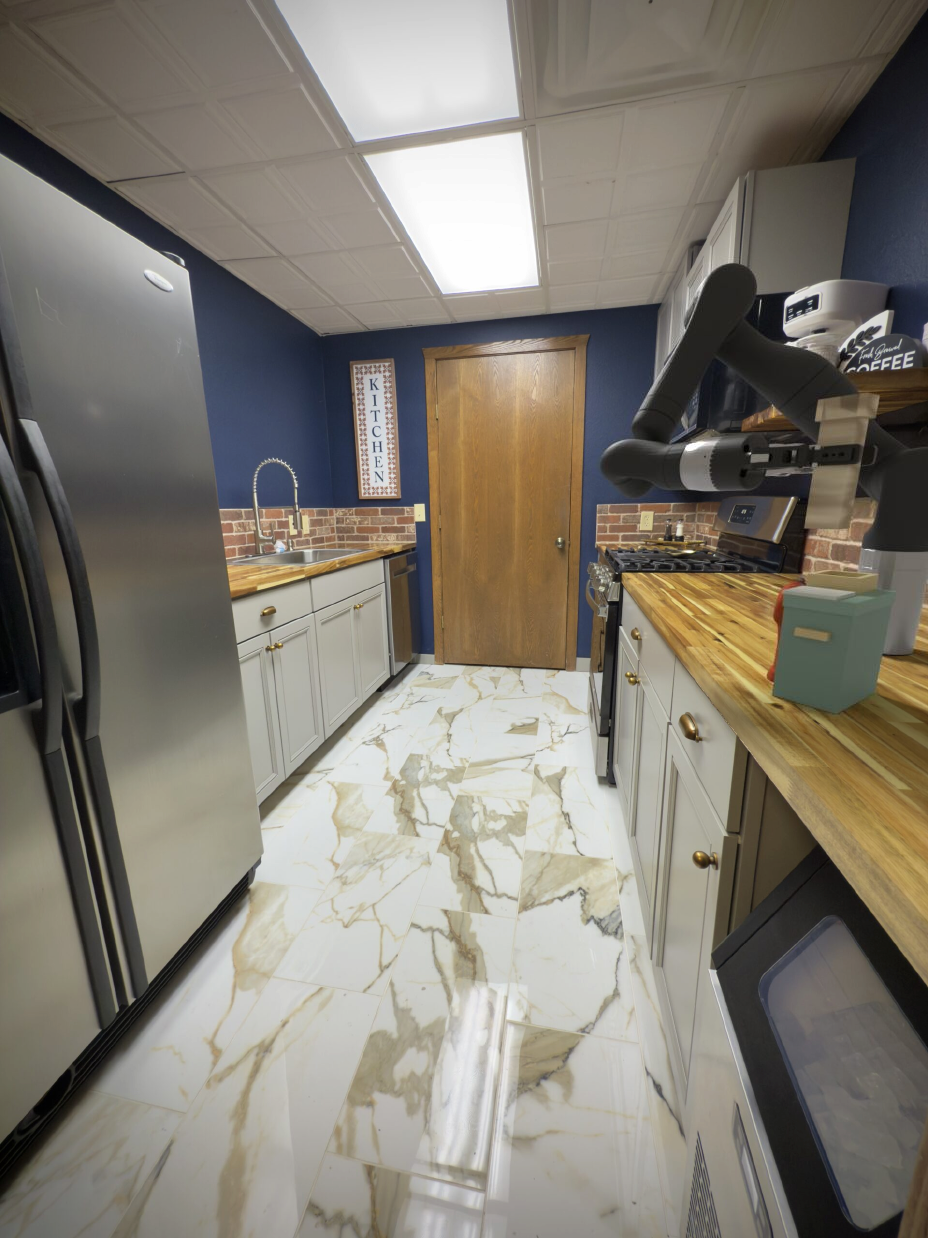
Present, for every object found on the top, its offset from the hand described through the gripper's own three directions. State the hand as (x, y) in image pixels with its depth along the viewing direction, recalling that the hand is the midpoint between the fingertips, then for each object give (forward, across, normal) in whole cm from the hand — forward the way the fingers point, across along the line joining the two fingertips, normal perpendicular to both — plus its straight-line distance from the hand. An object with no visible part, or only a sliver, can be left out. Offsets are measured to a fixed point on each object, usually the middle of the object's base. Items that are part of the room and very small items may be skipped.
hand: (867, 454), depth 56 cm
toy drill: (-9, +10, +32) cm, 34 cm away
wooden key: (-3, 0, +8) cm, 9 cm away
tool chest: (-1, +4, +31) cm, 31 cm away
